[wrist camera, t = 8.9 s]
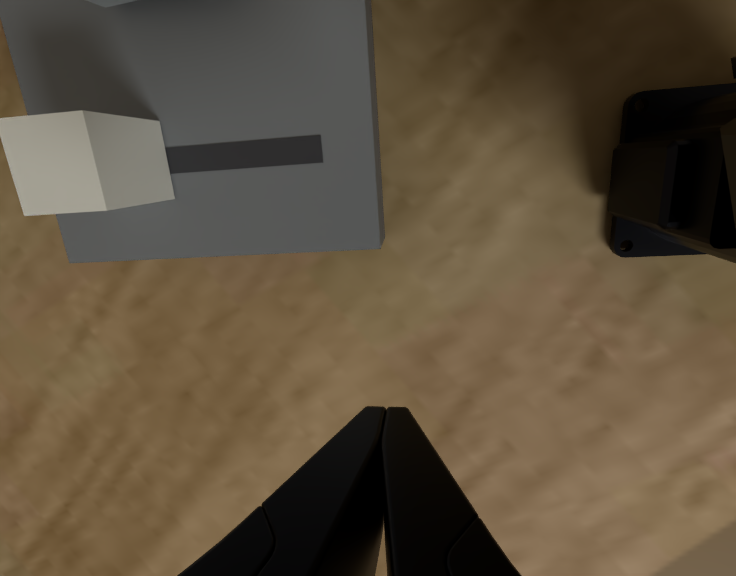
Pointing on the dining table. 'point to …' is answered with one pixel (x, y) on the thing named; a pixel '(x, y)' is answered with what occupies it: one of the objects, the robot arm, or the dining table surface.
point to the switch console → (218, 119)
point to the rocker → (109, 2)
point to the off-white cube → (85, 161)
